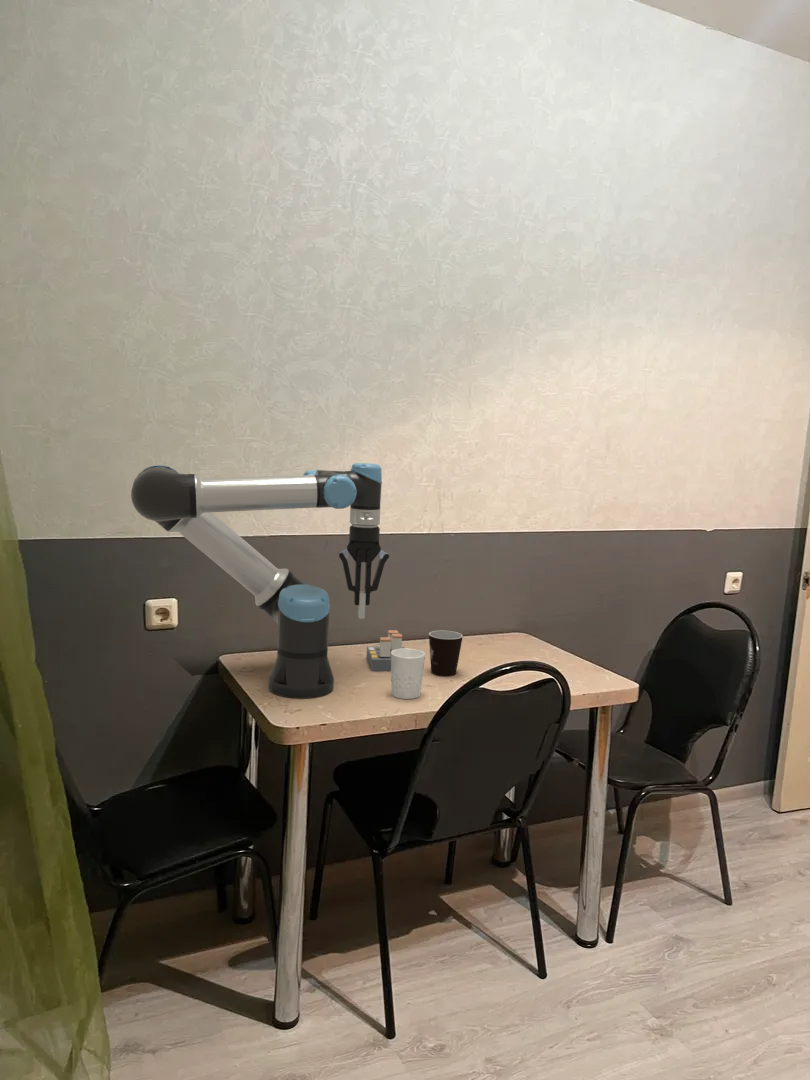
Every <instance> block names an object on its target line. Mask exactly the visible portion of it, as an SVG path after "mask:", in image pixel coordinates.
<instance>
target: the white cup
mask: <svg viewBox="0 0 810 1080" xmlns="http://www.w3.org/2000/svg"><path fill="white" fill-rule="evenodd" d="M425 656H426V653H425V652H424V651H423V650H419V649H415V648H406V647H404V649H396V650H393V651H391V671H390V683H391V687H390V688H391V695H392V696H393V697H394V698H398V699H403V700H414V699H417V698H419V697H421V689H422V685H423V676H424V668H425V667H424V666H425Z"/></svg>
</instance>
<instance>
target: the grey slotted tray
mask: <svg viewBox="0 0 810 1080" xmlns="http://www.w3.org/2000/svg"><path fill="white" fill-rule="evenodd" d="M404 648H405V646H402V649H404ZM379 652H380V646H366V659H367V662H368V665H369V668H370V670H371V672H391V649H390V657H380V654H379Z"/></svg>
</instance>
